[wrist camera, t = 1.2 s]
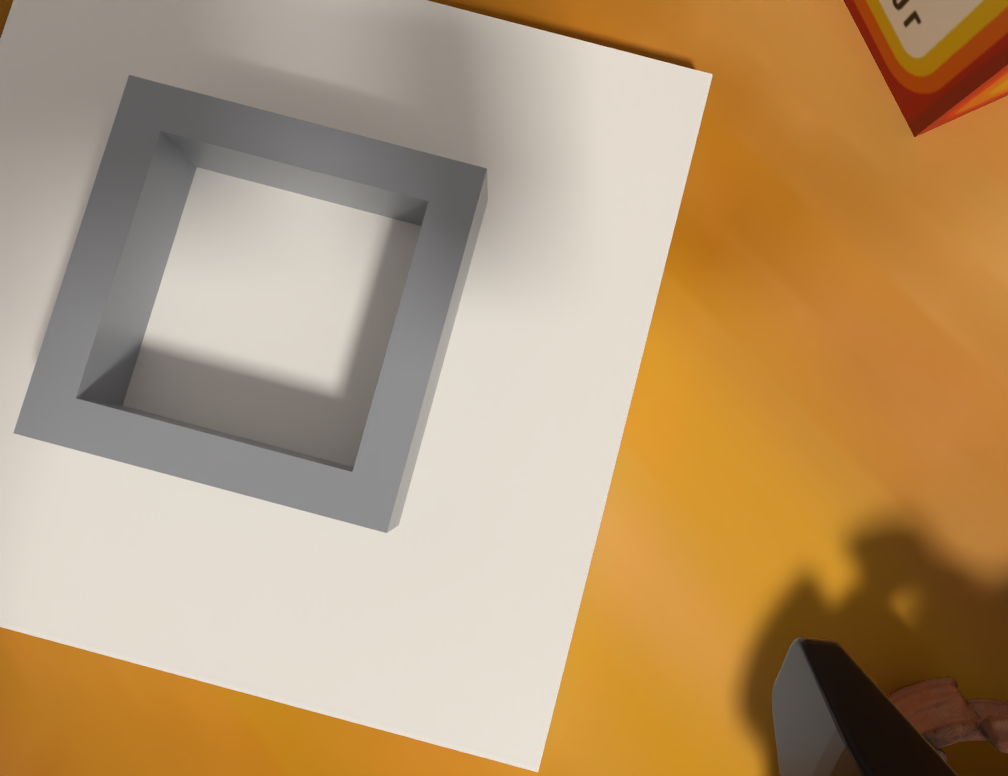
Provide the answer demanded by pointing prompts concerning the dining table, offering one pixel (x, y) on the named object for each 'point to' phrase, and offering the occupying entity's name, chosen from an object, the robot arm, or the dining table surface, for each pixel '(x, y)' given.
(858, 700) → the robot arm
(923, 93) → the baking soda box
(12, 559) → the square socket base
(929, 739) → the pottery mug
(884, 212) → the dining table surface
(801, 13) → the dining table surface
